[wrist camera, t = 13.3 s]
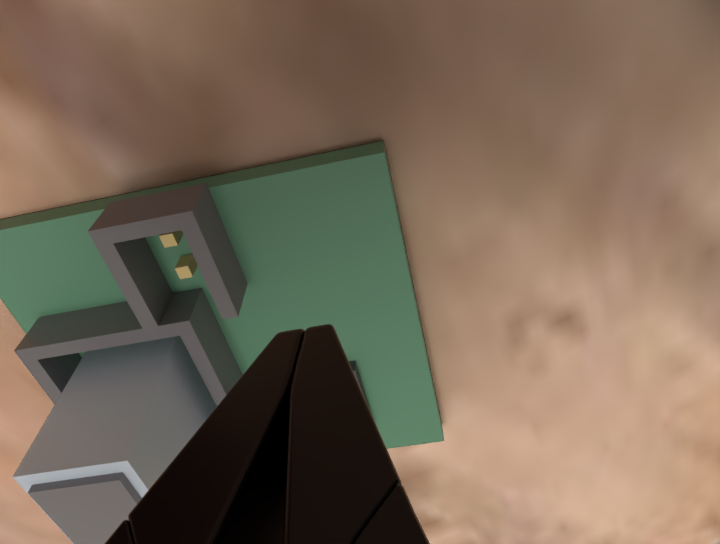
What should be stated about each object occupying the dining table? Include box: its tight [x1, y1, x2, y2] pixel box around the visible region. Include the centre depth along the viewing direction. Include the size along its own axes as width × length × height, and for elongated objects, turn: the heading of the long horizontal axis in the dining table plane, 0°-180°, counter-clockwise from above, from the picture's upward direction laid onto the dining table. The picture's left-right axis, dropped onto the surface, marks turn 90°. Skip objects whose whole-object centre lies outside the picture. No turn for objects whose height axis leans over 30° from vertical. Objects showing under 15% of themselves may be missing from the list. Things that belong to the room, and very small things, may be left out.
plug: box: [13, 336, 217, 544], centre depth 22 cm, size 4×6×6 cm
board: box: [0, 141, 444, 449], centre depth 24 cm, size 16×15×3 cm
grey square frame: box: [14, 288, 242, 406], centre depth 24 cm, size 7×8×2 cm
